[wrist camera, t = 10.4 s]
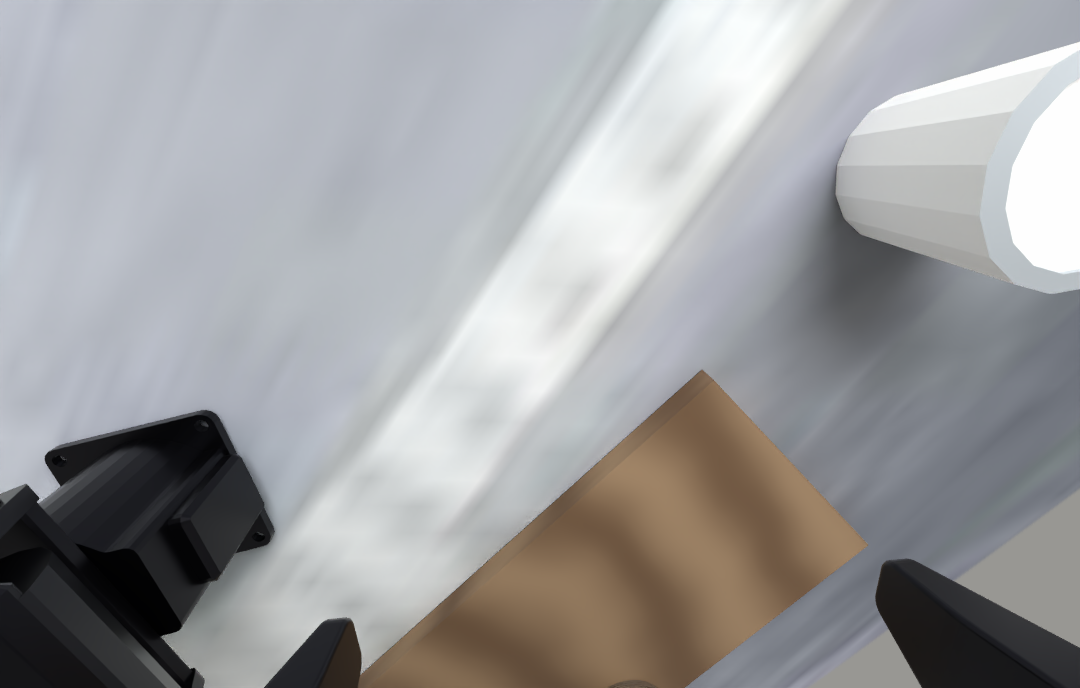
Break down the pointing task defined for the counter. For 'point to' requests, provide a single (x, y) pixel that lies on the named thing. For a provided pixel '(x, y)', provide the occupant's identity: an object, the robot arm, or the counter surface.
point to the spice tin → (632, 684)
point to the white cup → (977, 172)
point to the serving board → (637, 564)
